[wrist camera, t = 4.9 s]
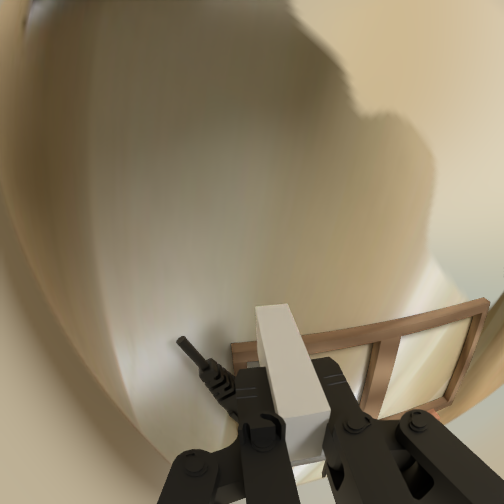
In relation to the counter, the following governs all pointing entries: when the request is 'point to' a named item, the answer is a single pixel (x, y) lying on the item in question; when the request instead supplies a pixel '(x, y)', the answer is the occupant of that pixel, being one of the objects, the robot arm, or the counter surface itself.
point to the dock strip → (387, 354)
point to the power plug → (214, 378)
